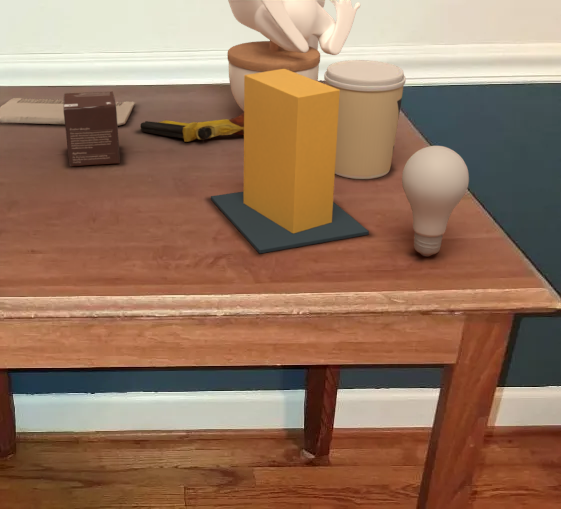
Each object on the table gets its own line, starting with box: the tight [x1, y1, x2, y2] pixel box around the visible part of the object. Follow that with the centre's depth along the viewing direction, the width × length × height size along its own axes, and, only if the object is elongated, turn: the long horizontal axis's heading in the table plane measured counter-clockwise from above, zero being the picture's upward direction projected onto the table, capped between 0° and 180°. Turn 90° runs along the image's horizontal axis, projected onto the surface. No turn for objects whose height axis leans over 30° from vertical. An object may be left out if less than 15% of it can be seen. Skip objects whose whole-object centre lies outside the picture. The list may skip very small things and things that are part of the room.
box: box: [63, 91, 121, 167], centre depth 101 cm, size 6×6×7 cm
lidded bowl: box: [227, 40, 321, 112], centre depth 116 cm, size 13×13×11 cm
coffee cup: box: [323, 59, 407, 180], centre depth 100 cm, size 9×9×12 cm
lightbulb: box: [401, 145, 470, 257], centre depth 79 cm, size 6×6×11 cm
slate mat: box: [210, 190, 370, 254], centre depth 89 cm, size 12×14×1 cm
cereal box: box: [243, 69, 340, 234], centre depth 86 cm, size 5×9×14 cm, turn 36°
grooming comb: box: [0, 97, 136, 126], centre depth 117 cm, size 18×10×1 cm, turn 88°
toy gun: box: [140, 112, 244, 143], centre depth 111 cm, size 4×15×10 cm
